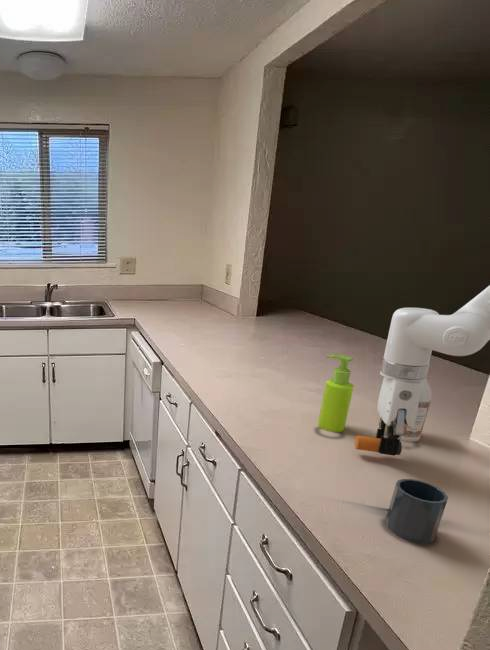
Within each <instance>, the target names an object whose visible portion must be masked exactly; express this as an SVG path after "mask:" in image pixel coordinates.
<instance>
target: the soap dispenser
mask: <svg viewBox="0 0 490 650" xmlns="http://www.w3.org/2000/svg"><path fill="white" fill-rule="evenodd" d="M326 357H327V358H328V359H330V358H331V359H335V360H336V359H337V360H340V361H339V365H338V366H339V367H337V368H334V371H333V376H332V379H328V380H326V381H325V387H324V391H323V397H322V401H321V407H320V412H319V418H318V422H317V426H318V428H320V429H322V430H325V431H327V432H333V433H341V432H343V431H344V430H345V427H346V422H347V418H348V414H349V410H350V405H351V400H352V395H353V391H354V388H355V387H354V384H353V383H351V382H349V381H350V376H351V370H350V369H348V368H349V367H348V366H349V363H350V362H353V360H354V357H351V356H347V355H343V354H337V353H336V354H335V353H331V354H328V355H326Z"/></svg>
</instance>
